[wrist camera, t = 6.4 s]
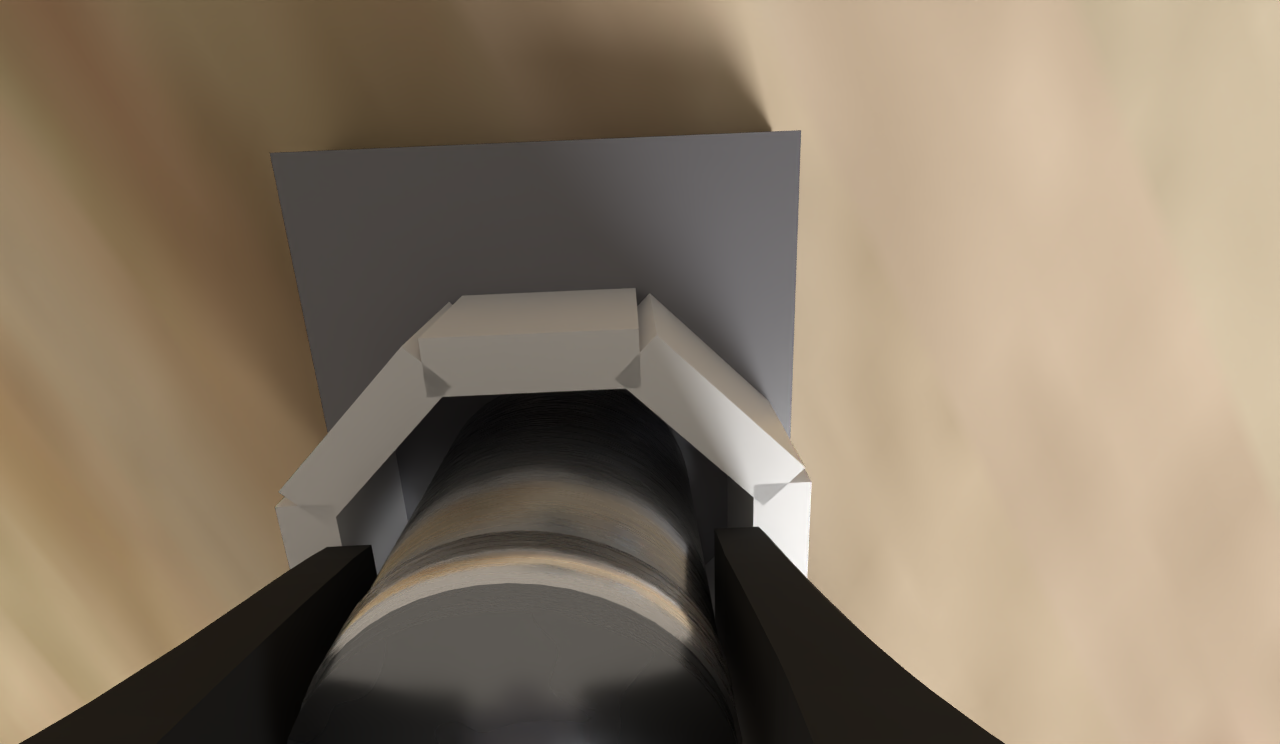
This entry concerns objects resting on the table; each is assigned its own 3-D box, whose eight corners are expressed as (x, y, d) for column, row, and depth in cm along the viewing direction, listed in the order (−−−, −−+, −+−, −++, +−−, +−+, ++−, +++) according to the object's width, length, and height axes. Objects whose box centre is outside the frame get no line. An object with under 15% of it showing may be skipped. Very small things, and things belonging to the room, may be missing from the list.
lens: (703, 582, 13) (765, 932, 7) (470, 612, 13) (349, 979, 7) (677, 358, 11) (728, 577, 6) (414, 393, 12) (208, 641, 6)
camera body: (761, 669, 16) (810, 861, 12) (422, 685, 16) (349, 884, 12) (773, 131, 12) (853, 127, 8) (325, 150, 12) (163, 156, 8)
